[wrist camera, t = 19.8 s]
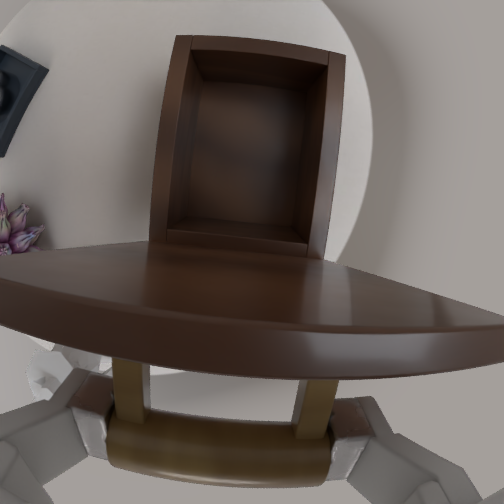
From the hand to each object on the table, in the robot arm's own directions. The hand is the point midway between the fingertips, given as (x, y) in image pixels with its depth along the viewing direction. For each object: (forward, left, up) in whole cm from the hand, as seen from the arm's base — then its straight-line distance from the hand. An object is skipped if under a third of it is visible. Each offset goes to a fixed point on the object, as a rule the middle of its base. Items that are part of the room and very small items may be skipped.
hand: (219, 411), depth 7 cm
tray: (+9, -32, -21) cm, 39 cm away
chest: (-6, -5, -21) cm, 22 cm away
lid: (-2, -2, -5) cm, 6 cm away
